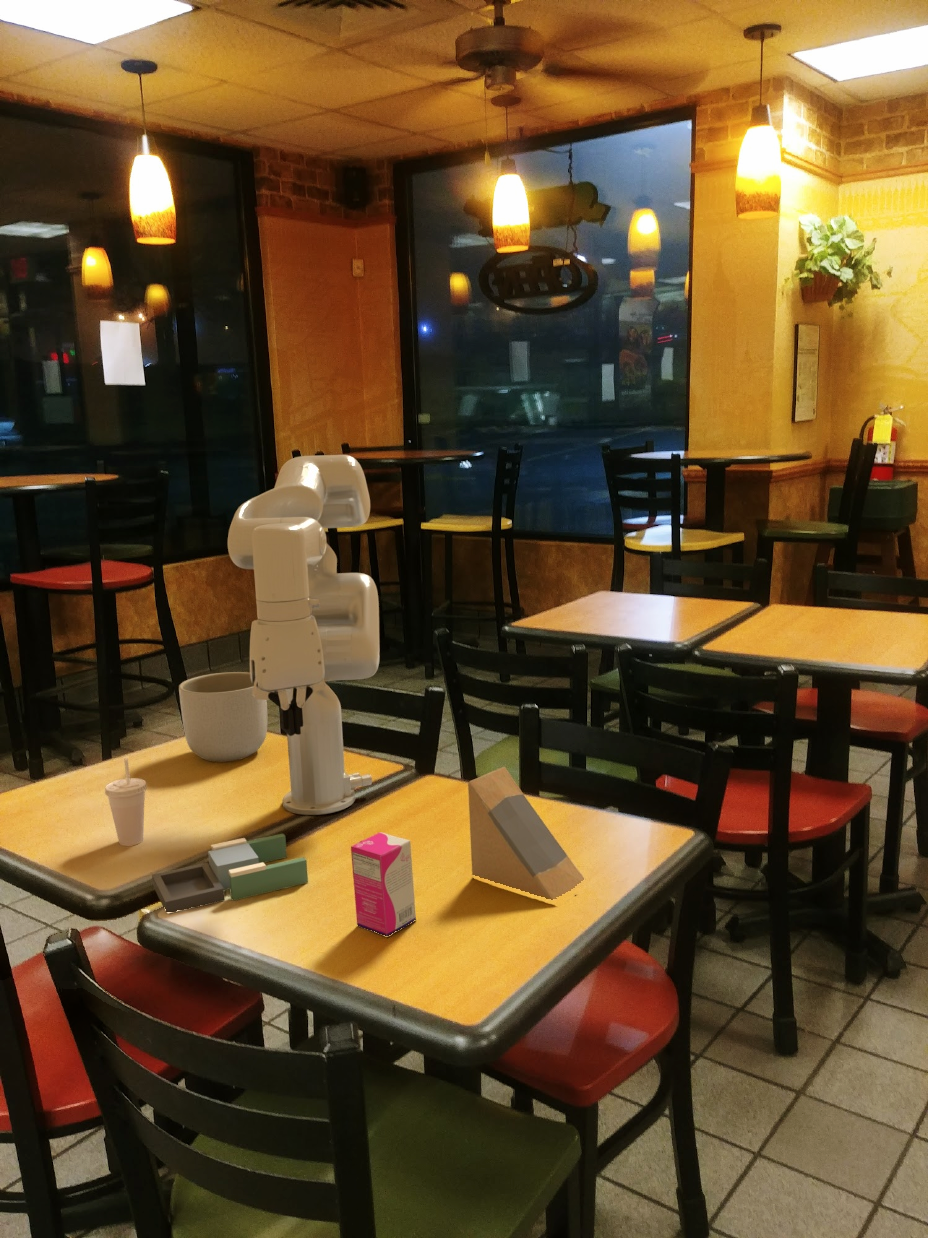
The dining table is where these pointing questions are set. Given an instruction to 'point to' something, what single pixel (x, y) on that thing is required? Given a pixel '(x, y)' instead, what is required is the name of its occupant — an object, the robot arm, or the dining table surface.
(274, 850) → the tunnel
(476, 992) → the dining table surface
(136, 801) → the smoothie
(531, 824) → the sandwich container
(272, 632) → the robot arm
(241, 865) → the block
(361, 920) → the supplement box
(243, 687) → the planter
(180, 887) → the tray
